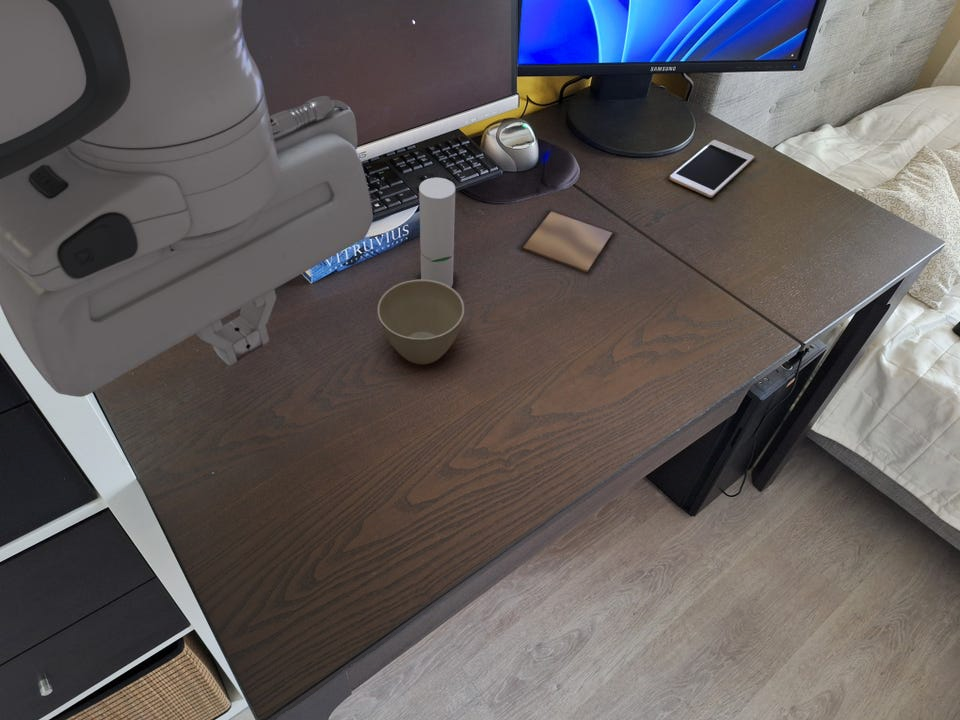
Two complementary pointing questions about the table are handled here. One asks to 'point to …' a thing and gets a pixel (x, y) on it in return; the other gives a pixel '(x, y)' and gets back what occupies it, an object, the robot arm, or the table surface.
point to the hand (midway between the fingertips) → (243, 348)
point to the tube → (437, 229)
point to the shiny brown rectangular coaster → (568, 241)
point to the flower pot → (421, 319)
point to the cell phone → (711, 168)
